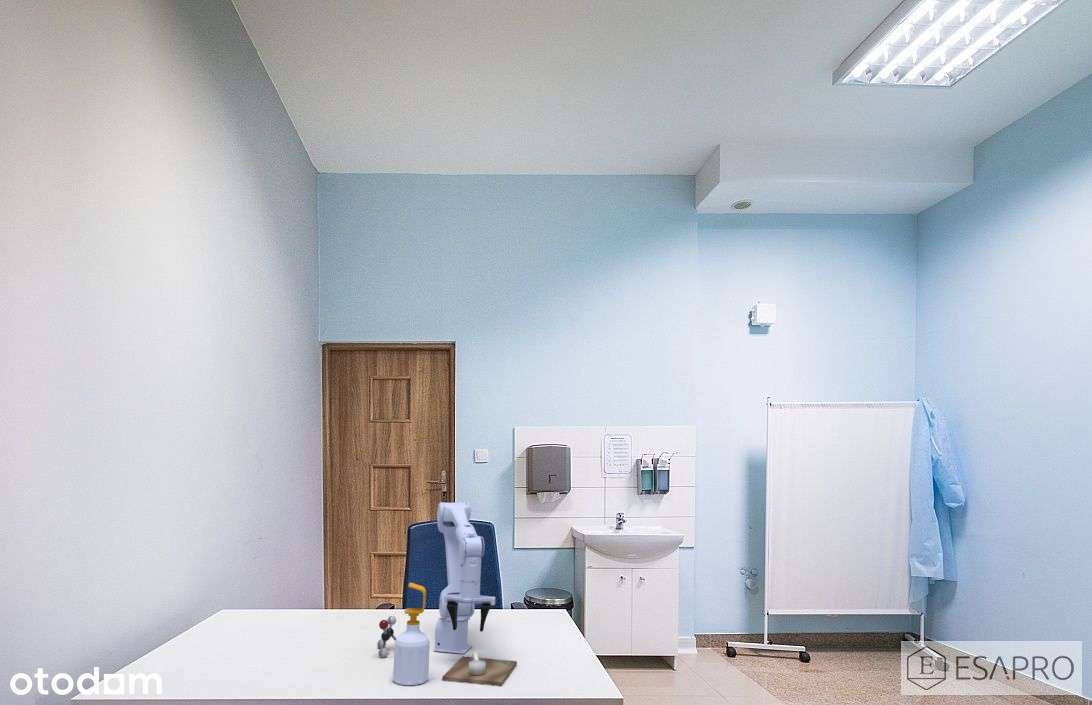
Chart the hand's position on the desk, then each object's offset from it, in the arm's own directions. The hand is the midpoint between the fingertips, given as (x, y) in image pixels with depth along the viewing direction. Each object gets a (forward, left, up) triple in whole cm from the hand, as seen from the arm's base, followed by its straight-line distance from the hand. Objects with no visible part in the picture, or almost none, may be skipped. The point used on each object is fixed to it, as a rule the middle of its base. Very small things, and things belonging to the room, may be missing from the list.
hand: (468, 629), depth 206 cm
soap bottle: (-10, -16, -10) cm, 22 cm away
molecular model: (-25, +4, -10) cm, 28 cm away
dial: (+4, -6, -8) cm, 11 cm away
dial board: (+6, -5, -10) cm, 12 cm away
